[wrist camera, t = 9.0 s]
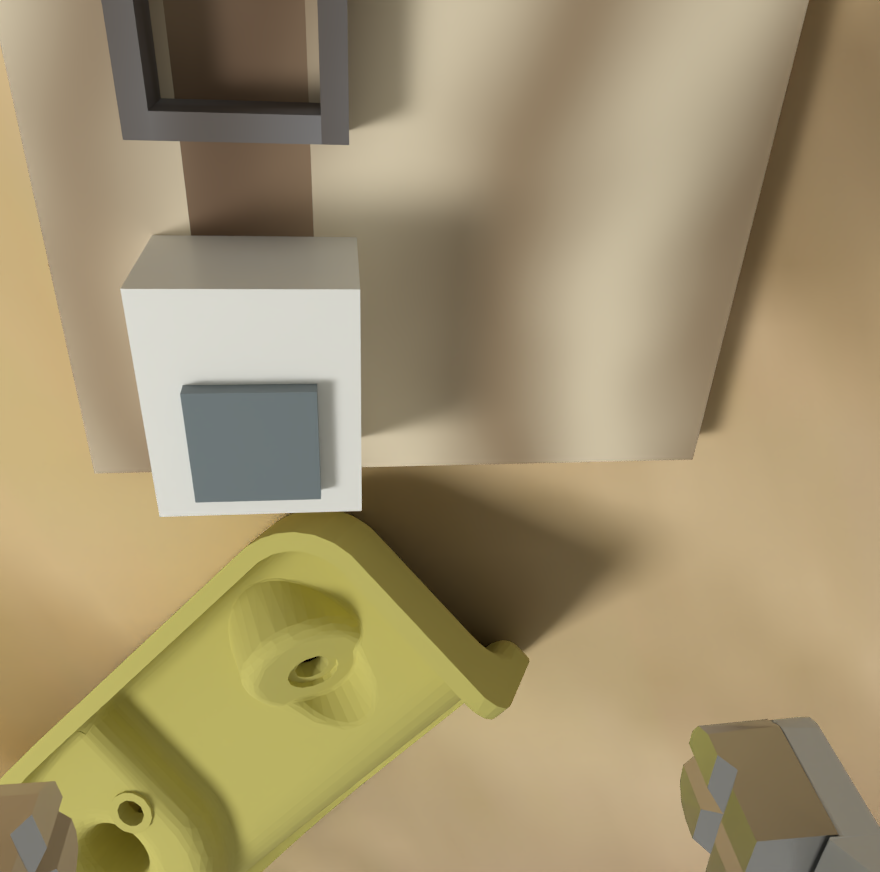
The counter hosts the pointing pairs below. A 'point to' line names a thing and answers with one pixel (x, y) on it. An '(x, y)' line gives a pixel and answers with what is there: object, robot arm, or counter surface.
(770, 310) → the counter surface
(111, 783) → the plastic component
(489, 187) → the beige flat block
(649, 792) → the counter surface
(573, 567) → the counter surface
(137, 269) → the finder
